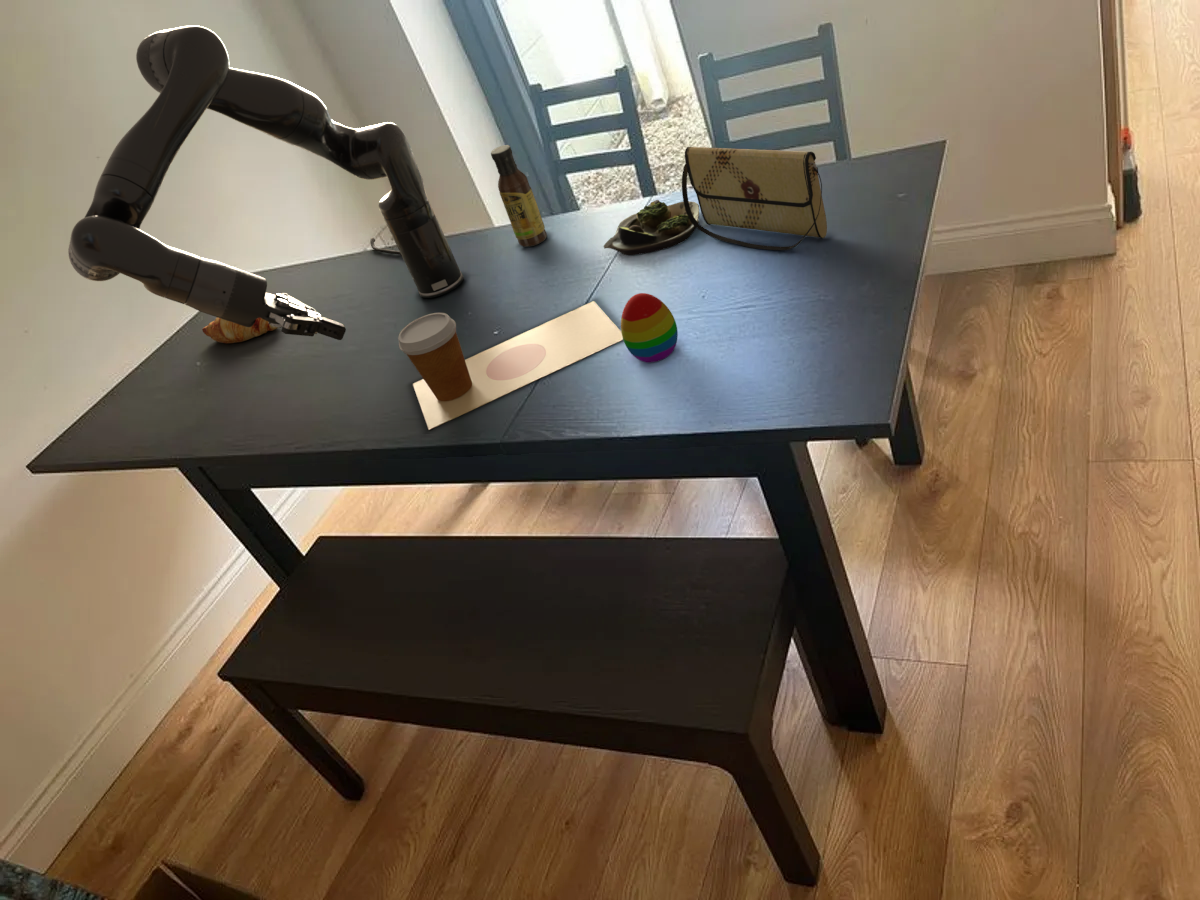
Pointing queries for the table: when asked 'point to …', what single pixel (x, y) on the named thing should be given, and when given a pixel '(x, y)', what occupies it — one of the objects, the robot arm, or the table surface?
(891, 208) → the table surface
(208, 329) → the croissant
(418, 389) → the placemat
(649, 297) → the decorative egg
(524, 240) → the sauce bottle
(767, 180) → the clutch purse
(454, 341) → the disposable coffee cup
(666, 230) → the salad plate
